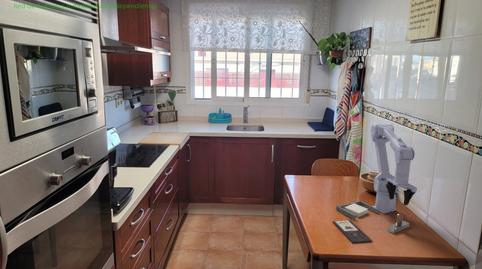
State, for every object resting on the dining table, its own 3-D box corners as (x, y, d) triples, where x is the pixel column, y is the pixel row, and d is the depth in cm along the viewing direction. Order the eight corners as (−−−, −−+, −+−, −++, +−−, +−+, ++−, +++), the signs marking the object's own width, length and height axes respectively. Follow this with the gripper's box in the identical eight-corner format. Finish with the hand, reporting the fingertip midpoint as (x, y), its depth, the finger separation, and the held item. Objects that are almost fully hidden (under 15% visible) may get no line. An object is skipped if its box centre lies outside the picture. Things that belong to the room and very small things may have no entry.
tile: (353, 207, 169) (354, 203, 168) (367, 213, 163) (368, 209, 162) (344, 211, 164) (344, 207, 164) (358, 218, 158) (358, 213, 157)
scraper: (402, 224, 152) (404, 210, 151) (408, 227, 150) (411, 213, 148) (387, 230, 146) (389, 216, 145) (393, 233, 144) (395, 219, 142)
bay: (360, 204, 173) (360, 200, 172) (378, 213, 163) (379, 209, 162) (336, 209, 165) (336, 206, 165) (353, 219, 155) (354, 215, 155)
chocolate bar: (352, 242, 134) (332, 221, 152) (352, 244, 135) (332, 223, 152) (372, 240, 136) (350, 220, 153) (372, 242, 136) (350, 222, 154)
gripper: (382, 170, 153) (379, 197, 156) (410, 179, 140) (407, 209, 143) (392, 168, 156) (389, 195, 159) (421, 177, 144) (417, 206, 146)
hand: (398, 201), depth 151 cm, fingers open, 7 cm apart
